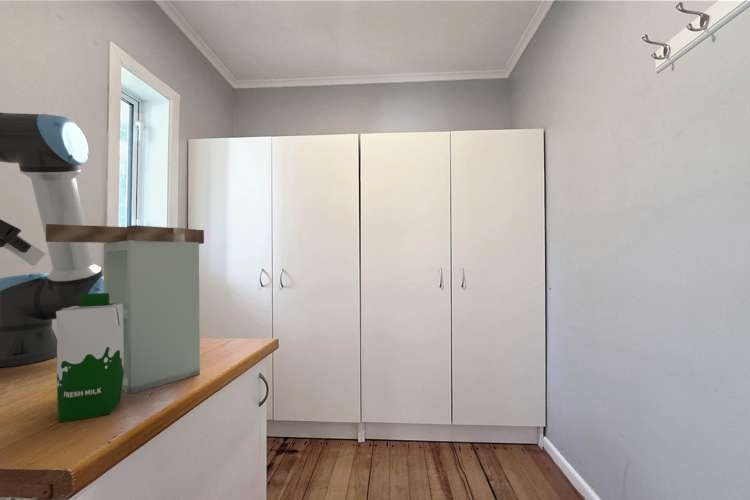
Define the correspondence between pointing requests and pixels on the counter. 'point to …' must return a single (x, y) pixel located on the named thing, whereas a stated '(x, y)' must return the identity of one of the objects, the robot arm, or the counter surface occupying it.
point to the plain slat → (93, 234)
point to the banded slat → (160, 234)
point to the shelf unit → (155, 309)
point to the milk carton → (89, 358)
